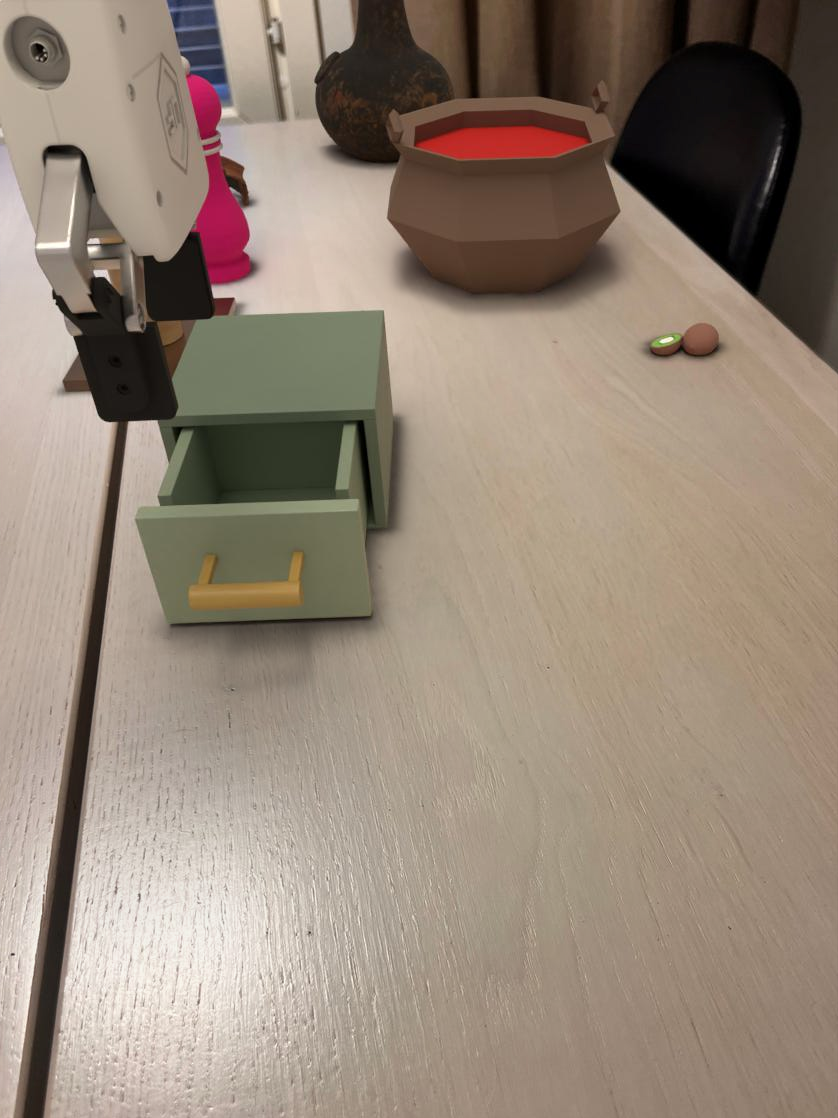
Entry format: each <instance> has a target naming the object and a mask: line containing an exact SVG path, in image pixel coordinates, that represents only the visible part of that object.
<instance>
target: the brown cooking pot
mask: <svg viewBox="0 0 838 1118" xmlns="http://www.w3.org/2000/svg"><path fill="white" fill-rule="evenodd" d="M590 97H591V100H592V104H593V107H588V106H585V105H579V104H574V103H570V102H566V101H560V100H556V99H551V98H547V97H543V96H515V97H513V96H512V97H481V98H475V97H474V98H454V100H451V101H447V102H444V103H441V104H437V105H434V106H430V107H427V108H423V109H420V110H417V111H413V112H410V113H406V114H403V115H400V116H399V114H398V113H397V112H396V111H395V110H394V109H393V110H392V111H391V113H390V114H389V116H388V120H387V123H386V128H387V131H388V134H389V137H390V140H391V142H392V143H393V145H394V146H395V147H396V149H397V150H398V151H399V152H400V154H401V156H400V159H399V161H397V166H396V168H395V172H394V174H393V178H392V180H391V184H390V190H389V196H388V197H389V198H388V207H387V213H386V215H387V216H386V219H387V221H388V222H389V223H390V224H391V226H392V227H393V228H394V230H395V231H396V232H397V233H398V235H399V236H400V237H401V238H402V240H403V241H404V242H405V243H406V245H407V246H408V247H409V248H410V250H411V251H412V252H413V254H414V255H415V256H416V258H417V259H418V260H419V261H420V263H422V265H423V266H424V268H425V269H426V270H427V271H428V273H429V274H430V275H431V276H432V277H433V280H436V281H439V282H441V283H445V284H447V285H450V286H453V287H456V288H458V289H461V290H463V291H467V292H469V293H471V294H474V295H495V294H525V293H526V294H528V293H536V292H539V291H541V290H543V289H545V288H548V287H549V286H552V285H554V284H556V283H557V282H560V281H562V280H565V279H566V278H568V277H570V276H572V275H574V273H575V272H576V270H578V268H579V267H580V265H581V264H582V262H583V261H585V259H586V258H587V256H588V255H589V254H590V253H591V251H592V250H593V248H594V247H595V246H596V244H597V243H598V242H599V241H600V239H601V238H602V236H604V234H605V233H606V231H607V230H608V229H609V228H610V226H611V225H612V224H613V222H614V221H615V220H616V219H617V217H618V216H619V214H620V213H621V212H622V211H621V208H620V204H619V201H618V199H617V195H616V192H615V189H614V186H613V182H612V180H611V177H610V174H609V171H608V168H607V164H606V161H605V159H604V155H603V152H604V151H606V149H607V147H608V146H609V144H611V142H612V141H613V140H614V138H615V137H616V134H615V132H614V130H613V127H612V125H611V123H610V121H609V119H608V117H607V115H606V111H605V110H606V108H607V106H608V105H609V104H610V101H611V97H610V94H609V90H608V87H607V84H606V83H605V82H604V81H603V79H602V80H600V82H599V83H598V84H597V86H596V87H595V88H594V90H593V92H592V93H591V95H590Z"/></svg>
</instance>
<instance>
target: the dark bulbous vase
mask: <svg viewBox="0 0 838 1118" xmlns="http://www.w3.org/2000/svg"><path fill="white" fill-rule="evenodd" d="M357 2H358V3H357V4H358V5H357V18H356V19H357V20H356V29H355V35H354V39H353V42H352V44H351V45H350V46H349V48H347V49H345V50H343V51H341V52H339V51H337V50H335V51H333V52H332V53H330V54H329V55H328V56H327V57H326V58H325V60H324V61H323V62H322V63H321V65H320V67H319V68H318V70H317V72H316V74H315V77H314V80H313V82H314V84H315V85H316V86H315V91H314V92H315V95H314V100H315V101H314V102H315V109H316V112H317V115H318V118H319V121H320V123H321V125H322V127H323V130H324V131H325V132H326V134H327V135H328V136H329V138H330V139H331V140H332V141H333V143H335V144H336V145H337V146H338V147H339V148H340V149H341V150H343V151H344V152H346V153H347V154H349V155H350V156H352V157H355V158H357V159H359V160H362V161H366V162H373V163H374V162H375V163H393V162H395V163H396V162H399V159H400V156H401V154H400V152H399V151H398V150H397V149H396V147H395V146H394V145H393V143H392V142H391V140H390V137H389V134H388V131H387V128H386V123H387V120H388V116H389V114H390V113H391V111H392V110H393V109H394V110H395V111H396V112H397V113H398V114H399V116H400V115H403V114H406V113H410V112H413V111H417V110H420V109H423V108H427V107H430V106H434V105H437V104H441V103H444V102H447V101H451V100H454V99H455V91H454V87H453V83H452V79H451V78H450V75H449V74H448V72H447V70H446V68H445V67H444V66H443V64H442V63H441V62H440V61H439V60H438V59H437V58H436V57H434V56H433V55H432V54H431V53H430V52H427V51H426V50H424V49H423V48H421V47H420V46H419V45H418V44H417V43H416V41H415V39H414V37H413V35H412V32H411V29H410V28H411V27H410V25H409V20H408V15H407V11H406V7H405V1H404V0H358V1H357Z"/></svg>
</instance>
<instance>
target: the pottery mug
mask: <svg viewBox="0 0 838 1118" xmlns="http://www.w3.org/2000/svg"><path fill="white" fill-rule="evenodd" d="M220 159H221V165H222V169H223V173H224V177H225V179H226V181H227V184H228V186H229V188H230V189H233V190H234V191H236V192H237V193H238V194H240V195H241V203H242V205H244V206H249V199H250V196H249V189H248V185H247V182H246V180H245V178H244V172H245V167H244V165H242V164H241V163H239V162H237V161H236V160H234V159H231V158H230V157H229V158H228V157H226V156H224V155H221V154H220Z"/></svg>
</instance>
